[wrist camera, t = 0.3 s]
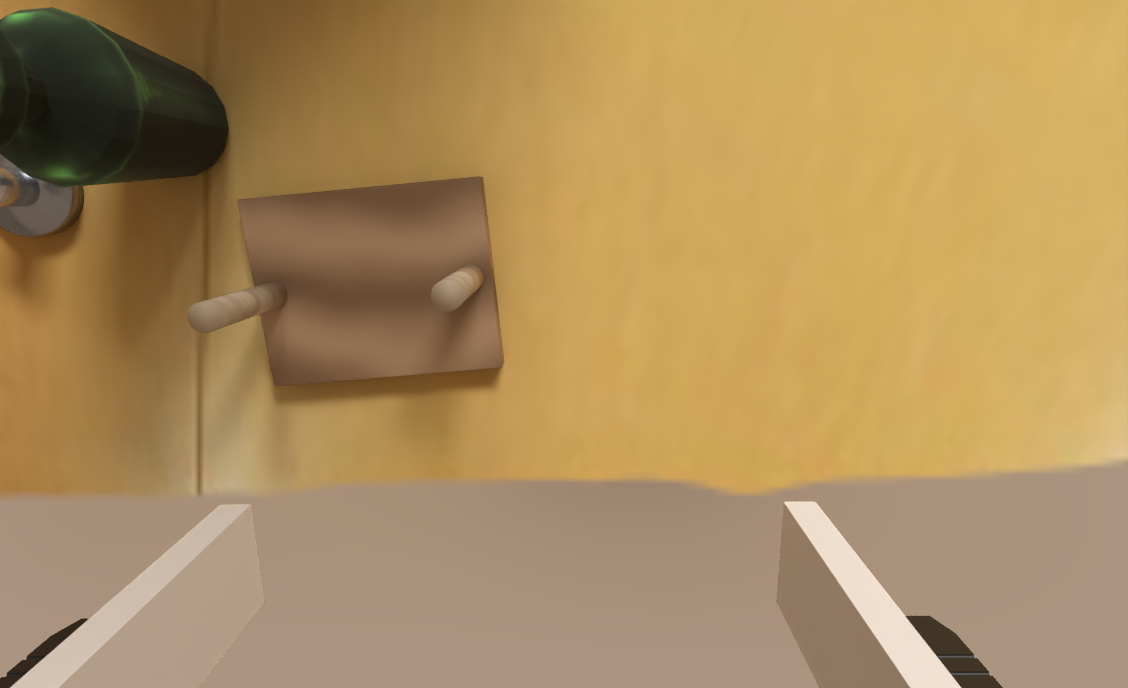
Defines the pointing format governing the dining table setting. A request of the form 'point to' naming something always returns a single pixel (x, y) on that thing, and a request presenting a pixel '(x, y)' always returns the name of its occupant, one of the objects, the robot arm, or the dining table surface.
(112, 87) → the potion bottle
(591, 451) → the dining table surface
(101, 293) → the dining table surface
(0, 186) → the ring nut stud
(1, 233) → the dining table surface
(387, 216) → the rack
